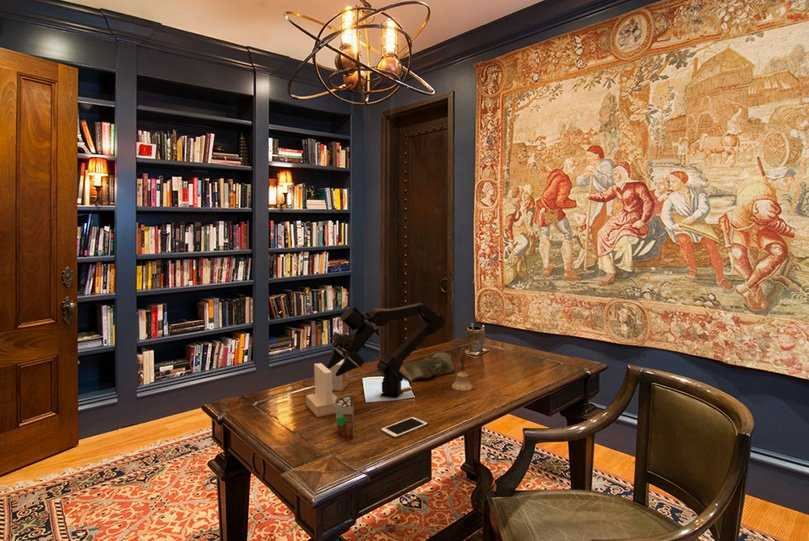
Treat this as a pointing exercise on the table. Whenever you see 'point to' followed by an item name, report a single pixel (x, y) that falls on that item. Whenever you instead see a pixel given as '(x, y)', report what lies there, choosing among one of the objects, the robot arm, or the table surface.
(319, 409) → the carton
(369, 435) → the table surface
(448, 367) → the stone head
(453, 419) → the table surface
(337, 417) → the food container
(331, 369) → the small box
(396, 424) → the cell phone
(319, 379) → the flap
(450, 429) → the table surface
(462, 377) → the hand bell
